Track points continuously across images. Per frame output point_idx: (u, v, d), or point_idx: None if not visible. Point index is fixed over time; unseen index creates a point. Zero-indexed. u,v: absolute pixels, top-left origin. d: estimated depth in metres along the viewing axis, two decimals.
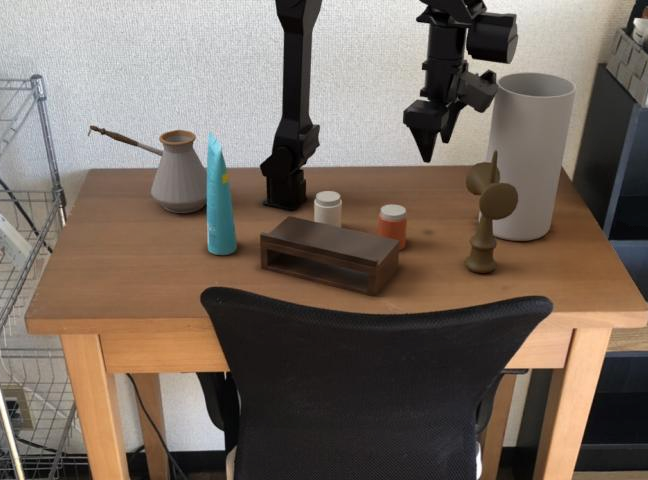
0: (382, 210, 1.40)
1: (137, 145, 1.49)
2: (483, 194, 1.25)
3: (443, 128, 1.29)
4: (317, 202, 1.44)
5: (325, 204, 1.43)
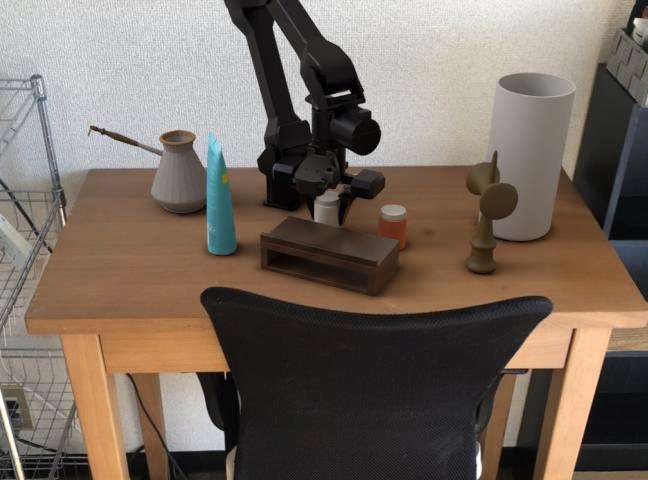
0: (382, 210, 1.40)
1: (137, 145, 1.49)
2: (483, 194, 1.25)
3: (293, 186, 1.43)
4: (317, 202, 1.44)
5: (325, 204, 1.43)
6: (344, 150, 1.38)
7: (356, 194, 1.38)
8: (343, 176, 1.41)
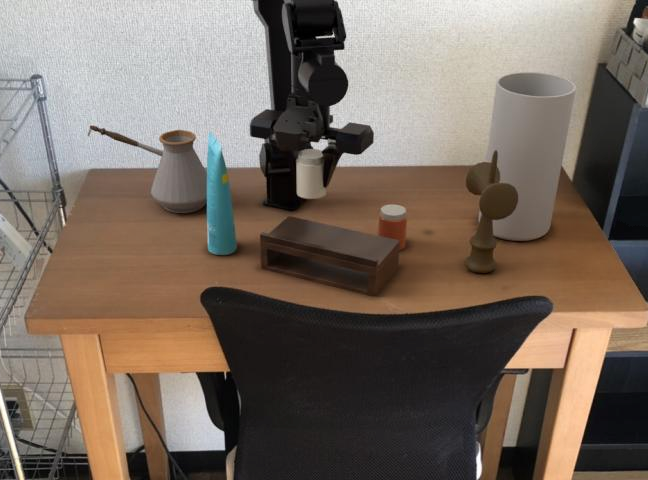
0: (382, 210, 1.40)
1: (137, 145, 1.49)
2: (483, 194, 1.25)
3: (272, 142, 1.30)
4: (299, 160, 1.31)
5: (308, 162, 1.30)
6: None
7: (342, 149, 1.25)
8: (327, 130, 1.28)
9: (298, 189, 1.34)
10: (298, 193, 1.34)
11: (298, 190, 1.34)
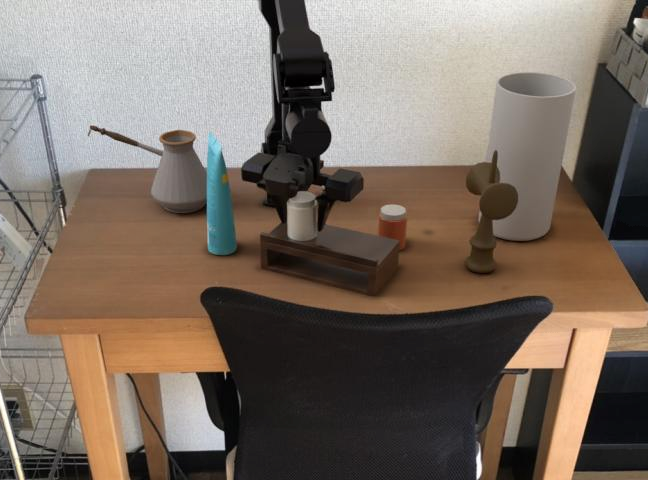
0: (382, 210, 1.40)
1: (137, 145, 1.49)
2: (483, 194, 1.25)
3: (259, 186, 1.31)
4: (290, 203, 1.32)
5: (298, 205, 1.31)
6: None
7: (331, 196, 1.26)
8: (317, 176, 1.29)
9: (289, 231, 1.35)
10: (289, 235, 1.35)
11: (289, 232, 1.35)
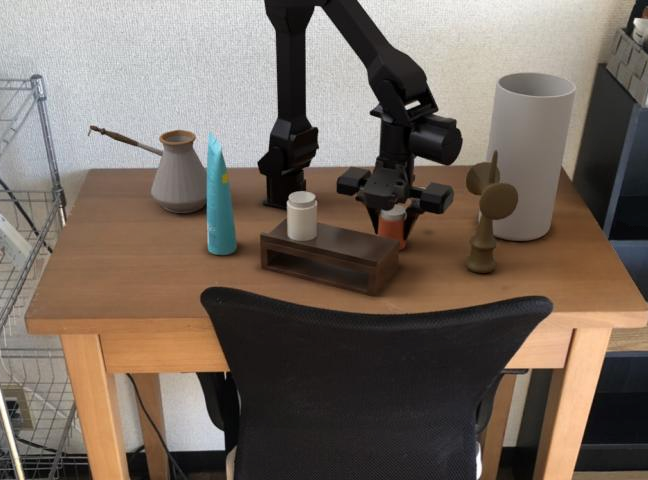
0: (382, 210, 1.40)
1: (137, 145, 1.49)
2: (483, 194, 1.25)
3: (358, 199, 1.39)
4: (290, 203, 1.32)
5: (298, 205, 1.31)
6: (413, 163, 1.34)
7: (425, 208, 1.34)
8: (411, 189, 1.36)
9: (289, 231, 1.35)
10: (289, 235, 1.35)
11: (289, 232, 1.35)
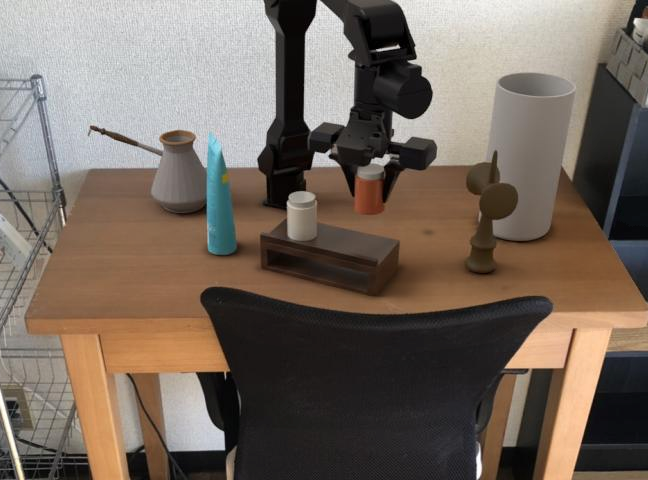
0: (358, 169, 1.27)
1: (137, 145, 1.49)
2: (483, 194, 1.25)
3: (331, 157, 1.26)
4: (290, 203, 1.32)
5: (298, 205, 1.31)
6: (391, 114, 1.21)
7: (405, 164, 1.21)
8: (389, 145, 1.23)
9: (289, 231, 1.35)
10: (289, 235, 1.35)
11: (289, 232, 1.35)
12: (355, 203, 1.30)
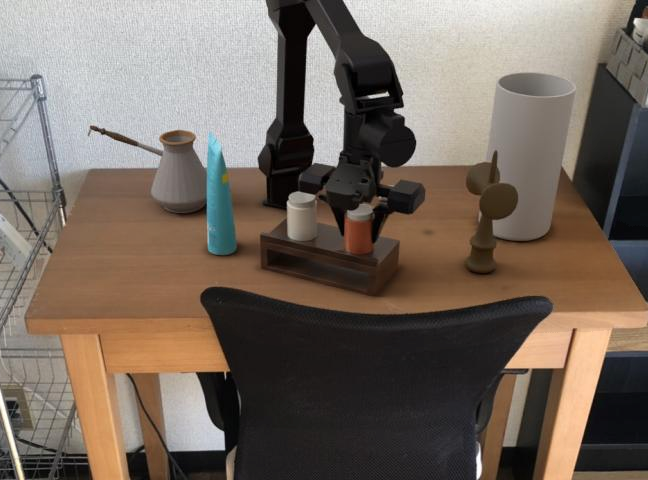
0: None
1: (137, 145, 1.49)
2: (483, 194, 1.25)
3: (321, 198, 1.28)
4: (290, 203, 1.32)
5: (298, 205, 1.31)
6: None
7: (393, 208, 1.23)
8: (378, 187, 1.25)
9: (289, 231, 1.35)
10: (289, 235, 1.35)
11: (289, 232, 1.35)
12: (345, 242, 1.32)
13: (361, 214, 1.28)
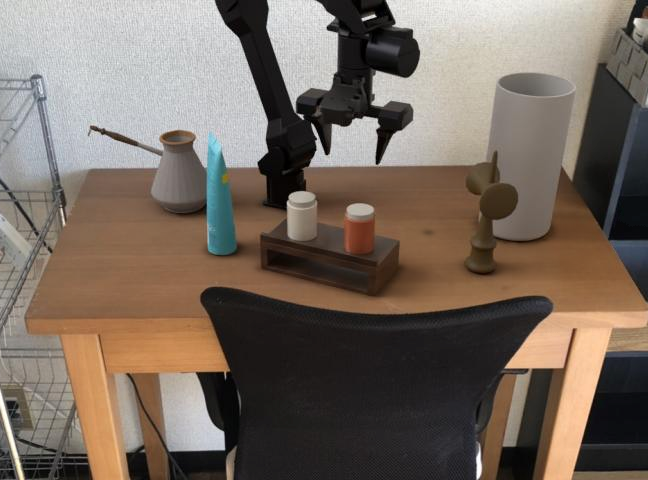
0: (348, 209, 1.29)
1: (137, 145, 1.49)
2: (483, 194, 1.25)
3: (306, 117, 1.38)
4: (290, 203, 1.32)
5: (298, 205, 1.31)
6: (371, 80, 1.33)
7: (384, 125, 1.33)
8: (370, 108, 1.35)
9: (289, 231, 1.35)
10: (289, 235, 1.35)
11: (289, 232, 1.35)
12: (345, 242, 1.32)
13: (361, 214, 1.28)
